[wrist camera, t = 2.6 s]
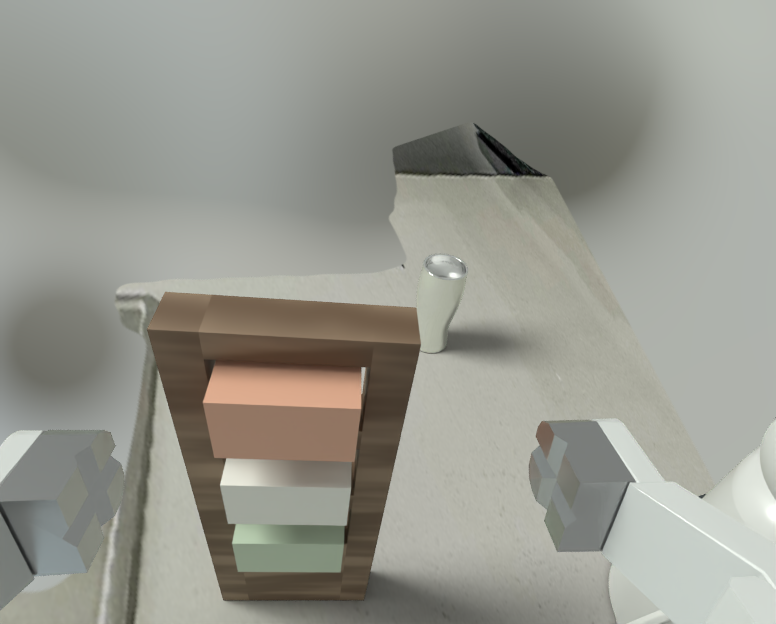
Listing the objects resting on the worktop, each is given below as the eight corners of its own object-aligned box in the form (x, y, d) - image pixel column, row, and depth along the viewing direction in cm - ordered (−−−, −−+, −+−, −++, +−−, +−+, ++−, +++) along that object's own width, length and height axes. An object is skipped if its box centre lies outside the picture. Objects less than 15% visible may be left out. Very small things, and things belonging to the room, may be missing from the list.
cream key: (346, 525, 34) (351, 488, 31) (227, 523, 33) (219, 485, 30) (347, 473, 37) (352, 434, 34) (239, 470, 36) (233, 430, 33)
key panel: (363, 600, 50) (421, 344, 26) (223, 600, 49) (147, 329, 25) (363, 569, 52) (416, 307, 28) (229, 568, 51) (164, 291, 27)
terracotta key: (354, 462, 29) (361, 409, 26) (214, 457, 28) (202, 402, 25) (355, 407, 32) (361, 353, 29) (228, 402, 31) (220, 346, 28)
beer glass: (458, 345, 80) (479, 272, 71) (425, 361, 77) (443, 286, 67) (430, 320, 84) (447, 247, 75) (398, 334, 81) (412, 260, 71)
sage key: (340, 572, 39) (343, 544, 36) (237, 571, 38) (232, 543, 35) (342, 523, 42) (345, 493, 39) (247, 521, 41) (242, 491, 38)
